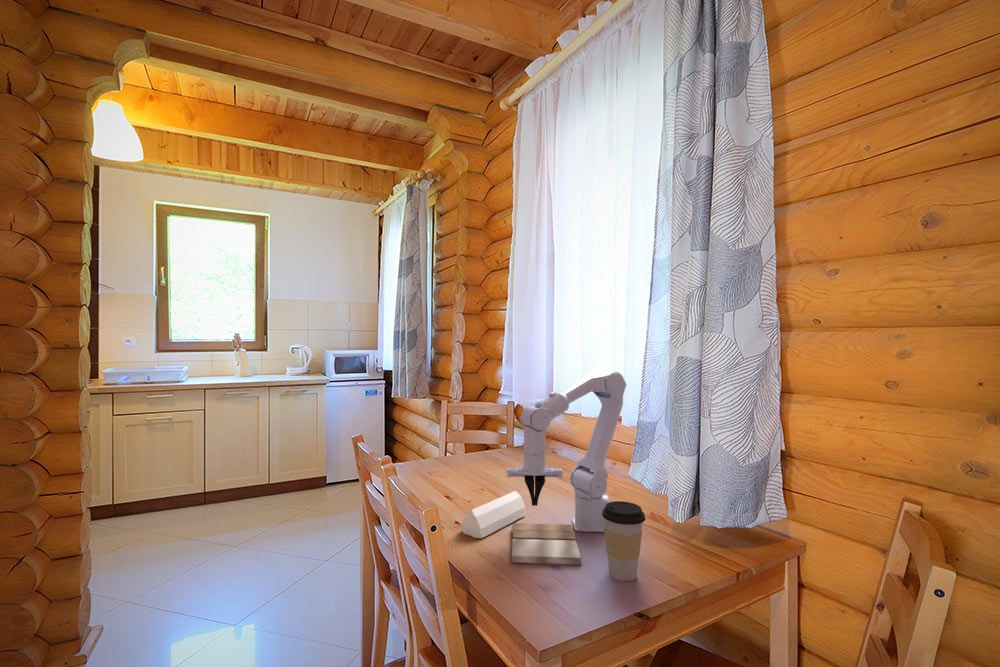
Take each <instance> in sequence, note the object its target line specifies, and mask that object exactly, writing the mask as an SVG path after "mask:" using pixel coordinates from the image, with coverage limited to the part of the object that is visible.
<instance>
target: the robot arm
mask: <svg viewBox="0 0 1000 667" xmlns="http://www.w3.org/2000/svg"><path fill="white" fill-rule="evenodd" d="M626 388H627V383H626V381H625V378H624V376H623V374H622V373H620V372H618V371H607V370H599V369H593V370H592V371H590V372H588V373H585V375H584V377H582V378H581V379H580V380H579V381H577V382H575V383H574V384H573V385H572V386H571V387H569V388H567V389H566V390H565V391H563V392H558V391H555V392H554V391H551V392H549V394H548V396H546V397H545V398H544V399H543V400H541V401H537V402H535V405H534V406H533V405H529V406H526V407H525V408H524V409H523V410H522V412H521V416H520V415H519V422H520V424H521V426H522V428H523V466H519V467H507V468H506V478H512V477H516V478H517V477H518V478H519V477H521V478H524V483H525V484H526V488H527V490H528V492H529V495H530V501H531V506H534V507H535V506H536V507H537V506H538V504H539V503H538V502H539V498H540V495H541V492H542V489H543V487H544V485H545V483H546V478H558V479H562V478H563V477H564V476H563V474H564V473H563V472H564V471H563V469H562V468H556V467H555V468H554V467H547V466H546V456H547V455H546V448H547V447H546V441H547V440H546V437H547V436H546V435H547V434H546V429H548V428H549V426H550V424H551V422H552V421H553V420H554V419H556V418H558V417H559V416H560V415H563V414H564V413H565V412H567V411H568V410H569V408H570V404H572V403H573V402H575V401H576V400H578V399H581V398H582V397H584V396H585V395H588V394H589V393H591V392H592V393H593V394H594V395H595V397H597V399H598V400H599V401H600V404H601V408H600V410H599V414H598V417H597V419H596V423H595V426H594V428H593V433H592V435H591V438H590V442H589V444H588V446H587V450H586V454H585V456H584V457H583V458H581V459H580V460H578V461H577V462H576V466H575V468H574V469H572V472H570V476H569V482H570V485H571V487H573V491H574V494H575V495H574V496H575V497H574V506H575V507H574V518H571V519H572V520H571V521H572V524H573V525H572V526H573V529H574V531H575V532H586V533H588V532H591V533H605V531H604V525H605V523H604V517H603V516H602V511H603V509H604V508H605V506H606V504H607V503H609V502H610V498H609V496H608V494H605V493H606V491H607V489H608V476H609V471H608V469H607V467H606V466H605V462H606V459H607V456H608V452H609V450H610V447H611V444H612V440H613V438H614V434H615V431H616V428H617V424H618V422H619V418H620V416H621V412H622V408H623V405H624V394H625V390H626Z"/></svg>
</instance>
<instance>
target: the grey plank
mask: <svg viewBox="0 0 1000 667" xmlns="http://www.w3.org/2000/svg"><path fill="white" fill-rule="evenodd" d="M511 547H512V562H522V563H556V564H581V565H582V558H581V554H580V550H579V546H578V543H577V540H575V541H574V540H537V539H512V538H511Z"/></svg>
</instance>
